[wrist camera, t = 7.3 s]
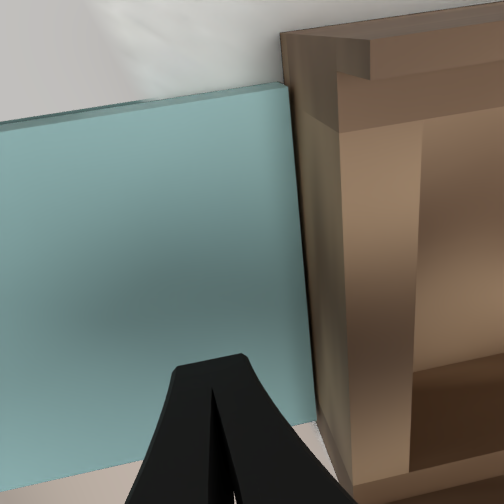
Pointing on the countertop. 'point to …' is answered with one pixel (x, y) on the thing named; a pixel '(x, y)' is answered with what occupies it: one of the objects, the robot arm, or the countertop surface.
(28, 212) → the cover plate
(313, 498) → the robot arm
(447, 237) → the walnut box
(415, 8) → the countertop surface
